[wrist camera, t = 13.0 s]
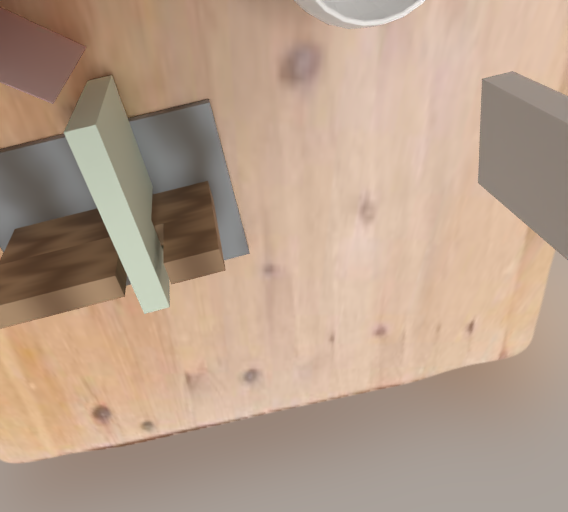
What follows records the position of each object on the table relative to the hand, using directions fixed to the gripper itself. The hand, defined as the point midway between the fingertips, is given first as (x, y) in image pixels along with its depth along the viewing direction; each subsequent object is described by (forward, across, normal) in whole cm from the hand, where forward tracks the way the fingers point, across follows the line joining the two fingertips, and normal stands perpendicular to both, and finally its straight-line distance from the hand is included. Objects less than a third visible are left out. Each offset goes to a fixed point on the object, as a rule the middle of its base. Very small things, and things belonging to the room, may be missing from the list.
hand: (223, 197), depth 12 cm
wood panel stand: (+35, -11, -16) cm, 40 cm away
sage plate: (+34, -8, -12) cm, 36 cm away
